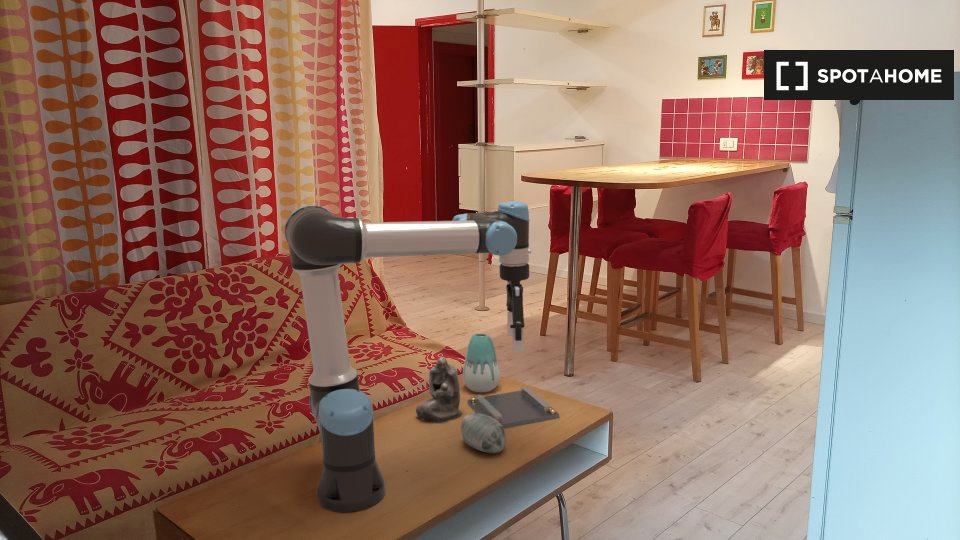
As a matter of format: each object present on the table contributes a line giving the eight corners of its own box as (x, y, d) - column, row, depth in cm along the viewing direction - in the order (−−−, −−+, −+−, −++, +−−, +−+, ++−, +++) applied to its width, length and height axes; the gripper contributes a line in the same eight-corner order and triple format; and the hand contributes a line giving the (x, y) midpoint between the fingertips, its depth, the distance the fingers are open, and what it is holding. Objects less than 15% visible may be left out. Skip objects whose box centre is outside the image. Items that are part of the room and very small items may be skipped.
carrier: (492, 430, 196) (492, 420, 195) (467, 403, 214) (467, 394, 213) (559, 417, 203) (559, 407, 202) (529, 392, 221) (529, 383, 220)
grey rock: (519, 439, 183) (498, 409, 180) (493, 465, 179) (471, 434, 177) (493, 432, 195) (473, 403, 193) (468, 456, 191) (447, 427, 189)
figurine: (416, 424, 201) (413, 363, 197) (415, 407, 212) (413, 349, 208) (463, 421, 202) (461, 360, 198) (460, 405, 213) (458, 347, 209)
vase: (484, 379, 233) (482, 325, 229) (508, 388, 224) (507, 333, 220) (455, 388, 226) (453, 333, 222) (479, 399, 217) (478, 342, 213)
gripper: (535, 273, 170) (535, 359, 175) (523, 253, 195) (524, 328, 199) (503, 274, 170) (505, 360, 175) (495, 254, 194) (497, 329, 199)
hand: (515, 343), depth 187 cm, fingers open, 13 cm apart
